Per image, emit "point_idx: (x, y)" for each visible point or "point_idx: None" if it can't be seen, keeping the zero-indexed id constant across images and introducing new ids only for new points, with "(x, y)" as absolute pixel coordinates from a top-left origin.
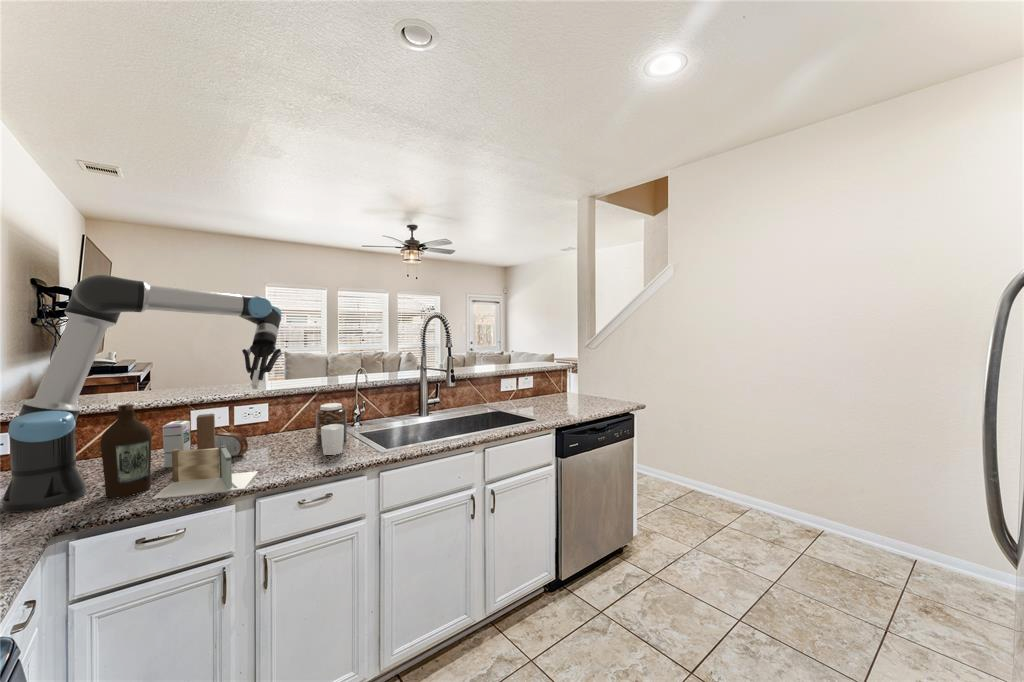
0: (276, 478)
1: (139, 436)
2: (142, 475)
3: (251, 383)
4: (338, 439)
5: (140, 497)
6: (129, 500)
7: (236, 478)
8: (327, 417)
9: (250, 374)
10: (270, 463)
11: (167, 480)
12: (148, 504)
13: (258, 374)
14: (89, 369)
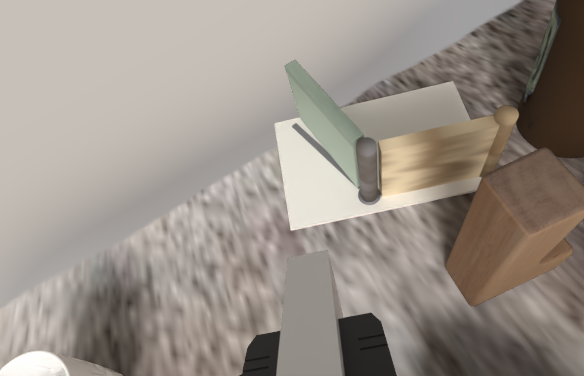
0: (226, 184)
1: None
2: (527, 84)
3: (327, 256)
4: (41, 372)
5: (492, 93)
6: (503, 80)
7: (324, 179)
8: None
9: (387, 346)
10: None
11: None
12: (438, 65)
13: (281, 341)
14: None
